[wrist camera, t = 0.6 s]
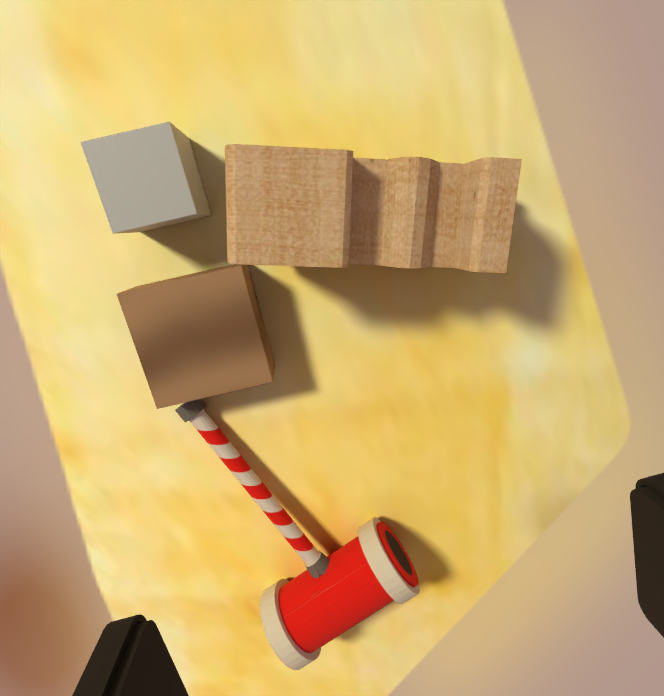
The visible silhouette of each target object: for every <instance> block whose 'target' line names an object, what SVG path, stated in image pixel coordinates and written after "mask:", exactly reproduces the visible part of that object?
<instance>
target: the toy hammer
mask: <svg viewBox="0 0 664 696" xmlns="http://www.w3.org/2000/svg"><path fill="white" fill-rule="evenodd" d="M205 407H206V405H205V403H204V402H203V401H202V400H201V399H197V400H193V401H189V402H185V403H184V404H182V405H181V406H180V407H178V408H177V409H176V410H175V411H176V412H177V413H178V414H179V416H180V417H181V418H182V419H183V420H184V422H187V421H190V422H191V423H192V424H193V426H194V427H195V428H196V429H197V431H198V432H199V433H200V434H201V435H202V437H203V438H204V439H205V440H206V442H207V443H208V444H209V445H210V446H211V448H212V449H213V450H214V451H215V453H216V454H217V455H218V456H219V458H220V459H221V460H222V461H223V462H224V464H225V465H226V466H227V467H228V469H229V470H230V471H231V472H232V473H233V475H234V476H235V477H236V478H237V480H238V481H239V482H240V483H241V485H242V486H243V487H244V488H245V489H246V491H247V492H248V493H249V494H250V496H251V497H252V498H253V499H254V500H255V502H256V503H257V504H258V505H259V507H260V508H261V509H262V510H263V512H264V513H265V514H266V515H267V516H268V518H269V519H270V520H271V521H272V523H273V524H274V525H275V526H276V527H277V529H278V530H279V531H280V532H281V534H282V535H283V536H284V537H285V539H286V540H287V541H288V542H289V543H290V545H291V546H292V547H293V548H294V550H295V551H296V552H297V553H298V555H299V556H300V557H301V558H302V560H303V561H304V562H305V565H306V567H307V569H308V570H306V571H305V572H303V573H302V574H300V575H299V576H297V577H296V578H294V579H293V580H291V581H289V580H286V579H281V580H279V581H278V582H276V583H275V584H273V585H272V586H270V587H269V588H267V589H266V590H265V591H264V592H263V593H262V596H261V599H260V615H261V621H262V625H263V628H264V631H265V634H266V637H267V639H268V641H269V643H270V645H271V647H272V649H273V650H274V652H275V654H276V655H277V656H278V658H279V659H280V660H281V661H282V662H283V663H284V664H285V665H286V666H287V667H289V668H291V669H293V670H299V669H301V668H303V667H304V666H306V665H307V664H309V663H311V662H312V661H314V660H315V659H317V658H318V656H319V654H320V651H321V647H322V646H323V645H325V644H326V643H328V642H330V641H331V640H333V639H334V638H336V637H337V636H339V635H341V634H342V633H344V632H345V631H347V630H348V629H350V628H351V627H353V626H355V625H356V624H358V623H359V622H361V621H362V620H364V619H366V618H367V617H369V616H370V615H372V614H373V613H375V612H376V611H378V610H380V609H381V608H383V607H384V606H386V605H387V604H389V603H391V602H392V601H396V602H397V603H399V604H403V603H405V602H406V601H408V600H409V599H411V598H412V597H414V596H416V595H417V594H419V585H418V578H417V574H416V571H415V569H414V567H413V564H412V562H411V560H410V558H409V556H408V555H407V553H406V551H405V549H404V548H403V546H402V544H401V543H400V541H399V540H398V538H397V537H396V535H395V534H394V533H393V532H392V530H391V529H390V528H389V527H388V526H387V525H386V524H385V523H384V522H381V521H380V520H379V519H378V518H375V517H374V518H373V519H371V520H370V521H368V522H367V523H365V524H364V525H362V526H361V527H359V529H358V537H356V538H355V539H353V540H352V541H350V542H349V543H347V544H346V545H344V546H343V547H341V548H340V549H338V550H337V551H335V552H334V553H332V554H331V555H329V556H327V557H326V556H325V555H324V554H323V553H321V552H320V551H317V549H316V548H315V547H314V546H313V544H312V543H311V542H310V541H309V539H308V538H307V537H306V536H305V535H304V533H303V532H302V531H301V530H300V528H299V527H298V526H297V525H296V523H295V522H294V521H293V520H292V518H291V517H290V516H289V515H288V513H287V512H286V511H285V510H284V508H283V507H282V506H281V505H280V503H279V502H278V501H277V500H276V498H275V497H274V496H273V495H272V494H271V492H270V491H269V490H268V489H267V487H266V486H265V485H264V484H263V482H262V481H261V480H260V479H259V477H258V476H257V475H256V474H255V472H254V471H253V470H252V469H251V467H250V466H249V465H248V464H247V462H246V461H245V460H244V459H243V457H242V456H241V455H240V454H239V453H238V451H237V450H236V449H235V448H234V446H233V445H232V444H231V443H230V441H229V440H228V439H227V438H226V436H225V435H224V434H223V433H222V431H221V430H220V429H219V428H218V426H217V425H216V424H215V423H214V421H213V420H212V419H211V418H210V416H209V415H208V414H207V413H206V411H205V410H204V408H205Z"/></svg>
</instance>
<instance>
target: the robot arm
mask: <svg viewBox="0 0 664 696" xmlns="http://www.w3.org/2000/svg"><path fill="white" fill-rule="evenodd" d="M630 502H631V514H632V529H633V541H634V554H635V568H636V580H637V594H638V601H639V604H640V607H641V609H642V611H643V613H644V614H645V616H646V618H647V619H648V620H649V621H650V623H651V624H652V625H653V626H654V627H655V628H656V629H657V630H658V631H659V633H660V634H661V635H662V636H663V637H664V473H662V474H658V475H654V476H650V477H647V478H643V479H640V480H638V481H637V483H636V489H634V490H632V491H631V493H630ZM72 696H189V695H188V693H187V691H186V689H185V687H184V685H183V682H182V680H181V678H180V676H179V674H178V671H177V669H176V667H175V665H174V663H173V660H172V658H171V656H170V654H169V652H168V650H167V647H166V645H165V643H164V641H163V639H162V636H161V634H160V632H159V630H158V628H157V626H156V624H155V622H154V621H152V620H149V621H147V620H146V618H145V617H144V616H143V615H135V616H132V617H128V618H124V619H121V620H117V621H113V622H110V623H109V624H107V625H106V627H105V629H104V630H103V632H102V634H101V637H100V638H99V640H98V643H97V645H96V647H95V649H94V651H93V653H92V655H91V657H90V659H89V662H88V664H87V666H86V668H85V670H84V672H83V674H82V676H81V679H80V681H79V683H78V685H77V687H76V689H75V692H74V693H73V695H72Z"/></svg>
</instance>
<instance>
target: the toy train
mask: <svg viewBox="0 0 664 696" xmlns="http://www.w3.org/2000/svg"><path fill="white" fill-rule="evenodd" d="M521 160H522V159H509V158H493V157H491V158H481V159H478V160H475V161H472V162H469V163H466V164H457V163H442V162H437V161H435V160H432V159H429V158H422V157H402V158H394V159H388V160H385V159H366V158H353V151H349V150H336V149H317V148H298V147H279V146H260V145H241V144H231V145H226V146H225V175H226V221H227V263H229V264H244V265H274V266H305V267H336V268H346V267H348V264H349V265H381V266H388V267H397V268H426V267H447V268H457V269H461V270H465V271H471V272H489V273H506V271H507V263H508V256H509V249H510V241H511V234H512V226H513V219H514V212H515V204H516V197H517V190H518V182H519V175H520V167H521Z"/></svg>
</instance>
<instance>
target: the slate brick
mask: <svg viewBox="0 0 664 696" xmlns="http://www.w3.org/2000/svg"><path fill="white" fill-rule="evenodd" d="M81 145H82V147H83V150H84V153H85V156H86V159H87V162H88V164H89V167H90V170H91V173H92V176H93V179H94V181H95V184H96V187H97V190H98V193H99V195H100V198H101V201H102V204H103V207H104V210H105V212H106V215H107V218H108V221H109V224H110V227H111V229H112V232H113V233H131V232H143V231H147V230H151V229H156V228H160V227H164V226H168V225H173V224H177V223H181V222H185V221H189V220H194V219H198V218H202V217H206V216H211V212H210V208H209V205H208V201H207V198H206V194H205V191H204V188H203V184H202V181H201V177H200V174H199V170H198V167H197V163H196V160H195V156H194V153H193V150H192V146H191V143H190V139H189V138H188V137H187V136H186V135H185V134H184V133H182V132H181V131H180V130H179V129H177V128H176V127H175V126H174V125H173V124H171V123H170V122H166V123H162V124H157V125H153V126H149V127H144V128H140V129H136V130H132V131H127V132H123V133H119V134H114V135H110V136H106V137H101V138H97V139H93V140H88V141H84V142H81Z"/></svg>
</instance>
